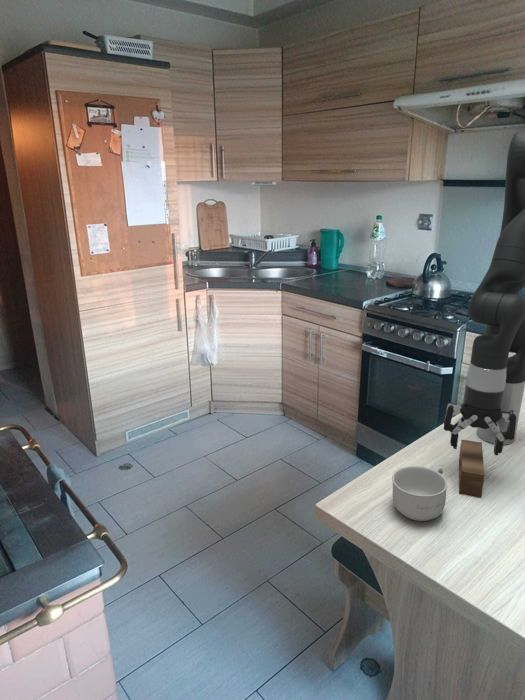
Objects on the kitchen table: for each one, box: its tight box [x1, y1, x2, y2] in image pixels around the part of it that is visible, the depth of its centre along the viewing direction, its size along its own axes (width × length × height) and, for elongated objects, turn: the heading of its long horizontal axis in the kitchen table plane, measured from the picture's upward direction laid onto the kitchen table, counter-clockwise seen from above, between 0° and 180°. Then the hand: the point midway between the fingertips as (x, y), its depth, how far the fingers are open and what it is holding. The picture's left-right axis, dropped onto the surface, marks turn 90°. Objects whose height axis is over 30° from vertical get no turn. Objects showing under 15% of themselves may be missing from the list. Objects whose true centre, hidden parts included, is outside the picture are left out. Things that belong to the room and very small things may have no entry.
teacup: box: [391, 465, 449, 522], centre depth 103 cm, size 14×11×8 cm
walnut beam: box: [458, 439, 486, 499], centre depth 113 cm, size 14×4×6 cm, turn 160°
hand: (474, 450), depth 111 cm, fingers open, 8 cm apart
